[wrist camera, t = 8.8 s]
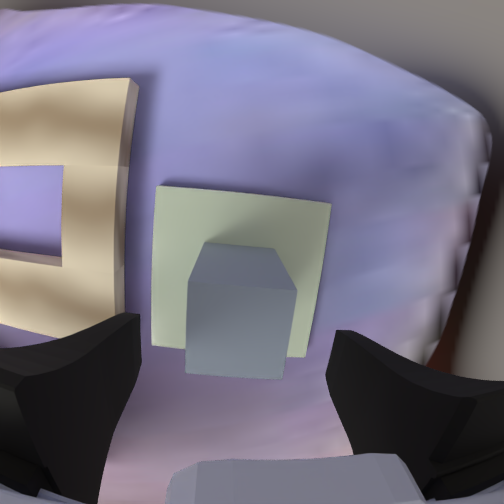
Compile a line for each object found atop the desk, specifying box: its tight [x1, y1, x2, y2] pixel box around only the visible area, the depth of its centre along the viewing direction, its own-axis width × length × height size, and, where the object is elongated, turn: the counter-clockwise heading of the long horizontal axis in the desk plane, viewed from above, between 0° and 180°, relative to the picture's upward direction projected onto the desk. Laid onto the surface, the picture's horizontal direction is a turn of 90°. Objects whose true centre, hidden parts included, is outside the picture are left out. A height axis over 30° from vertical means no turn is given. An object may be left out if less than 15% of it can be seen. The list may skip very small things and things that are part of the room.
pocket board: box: [0, 78, 139, 338], centre depth 17 cm, size 16×16×2 cm
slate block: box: [185, 242, 298, 380], centre depth 16 cm, size 4×4×7 cm
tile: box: [151, 185, 332, 357], centre depth 19 cm, size 10×10×1 cm
